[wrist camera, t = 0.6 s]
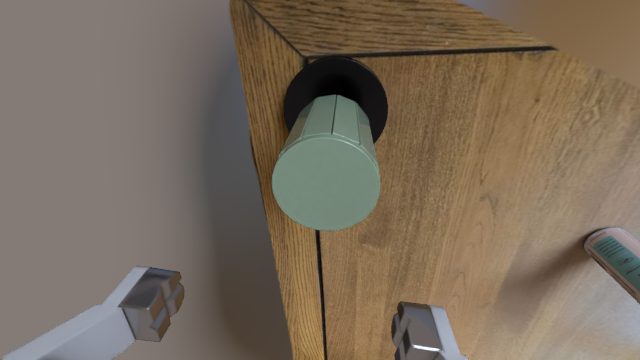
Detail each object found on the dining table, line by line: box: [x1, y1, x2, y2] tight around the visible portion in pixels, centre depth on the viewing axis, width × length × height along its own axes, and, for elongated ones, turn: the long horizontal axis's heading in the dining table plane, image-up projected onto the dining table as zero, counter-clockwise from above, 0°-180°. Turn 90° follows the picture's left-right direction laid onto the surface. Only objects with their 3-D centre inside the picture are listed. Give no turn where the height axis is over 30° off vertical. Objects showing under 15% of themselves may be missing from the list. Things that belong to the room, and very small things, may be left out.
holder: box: [284, 56, 388, 144], centre depth 24 cm, size 11×11×16 cm
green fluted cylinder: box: [272, 95, 380, 231], centre depth 20 cm, size 6×6×10 cm
